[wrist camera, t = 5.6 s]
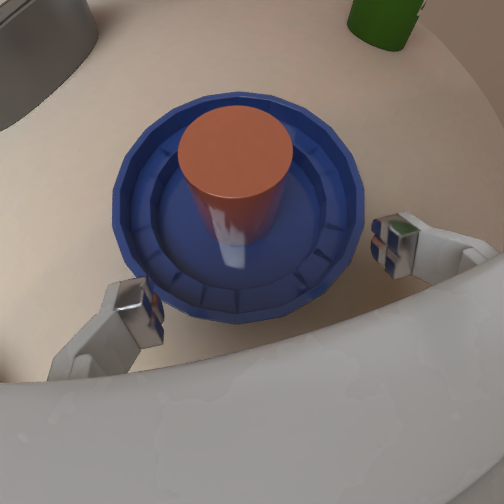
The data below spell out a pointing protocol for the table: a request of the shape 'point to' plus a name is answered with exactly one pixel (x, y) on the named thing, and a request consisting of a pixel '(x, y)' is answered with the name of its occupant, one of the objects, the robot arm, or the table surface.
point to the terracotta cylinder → (236, 171)
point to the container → (40, 51)
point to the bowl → (248, 256)
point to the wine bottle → (384, 21)
